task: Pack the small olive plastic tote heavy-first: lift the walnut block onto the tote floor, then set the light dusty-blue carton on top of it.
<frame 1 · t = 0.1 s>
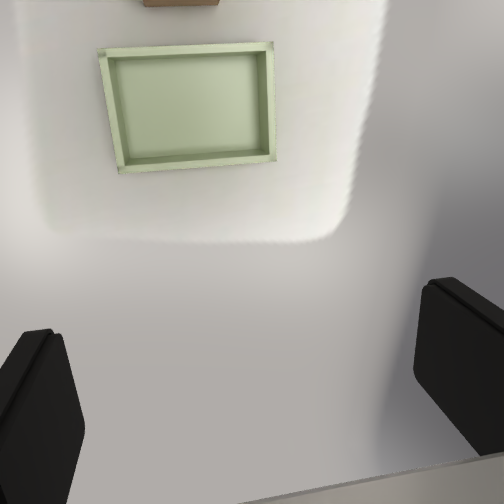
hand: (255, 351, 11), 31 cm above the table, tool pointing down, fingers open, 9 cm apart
tote: (191, 107, 37), on the table
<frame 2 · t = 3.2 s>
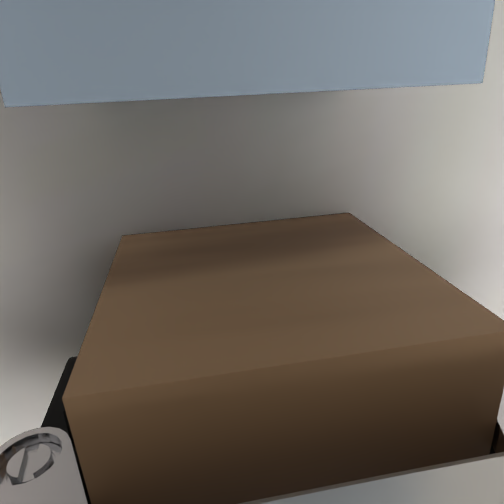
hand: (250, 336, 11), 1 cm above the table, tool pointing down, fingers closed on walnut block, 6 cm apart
walnut block: (246, 322, 12), on the table, touching gripper
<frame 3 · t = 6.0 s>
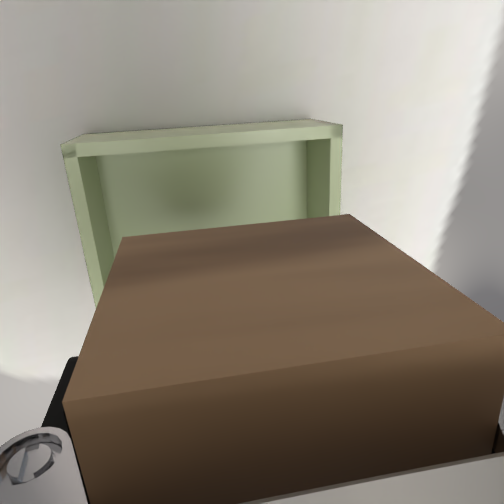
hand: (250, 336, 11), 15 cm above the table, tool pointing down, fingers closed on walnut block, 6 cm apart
walnut block: (246, 324, 12), point 15 cm above the table, touching gripper
tote: (209, 203, 26), on the table
when the fingers open (3 cm above the table, at t = 8.8 s): walnut block drops 1 cm, resting on tote.
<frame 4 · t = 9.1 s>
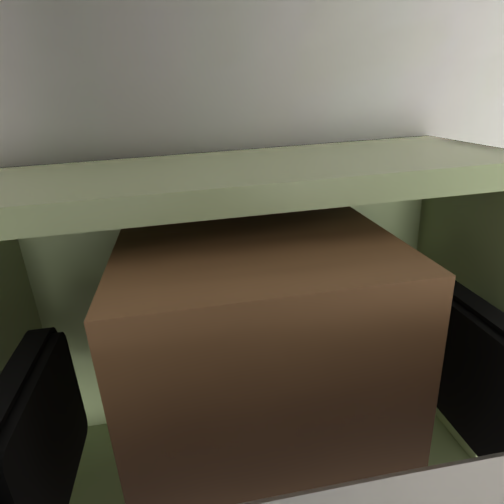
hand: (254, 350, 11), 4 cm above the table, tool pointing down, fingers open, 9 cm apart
walnut block: (239, 295, 13), point 1 cm above the table, touching tote
tote: (235, 287, 14), on the table
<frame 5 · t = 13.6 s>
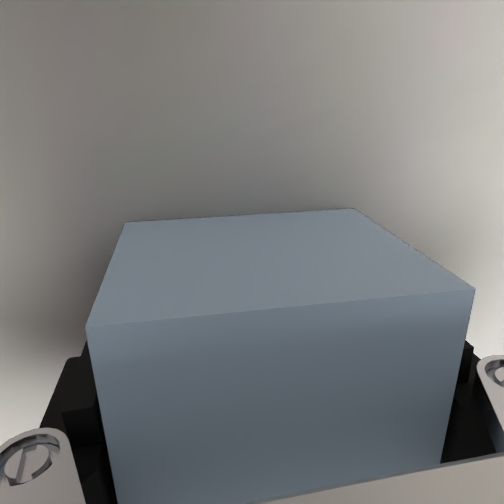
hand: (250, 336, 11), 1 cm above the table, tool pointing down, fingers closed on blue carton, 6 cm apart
blue carton: (246, 315, 12), on the table, touching gripper
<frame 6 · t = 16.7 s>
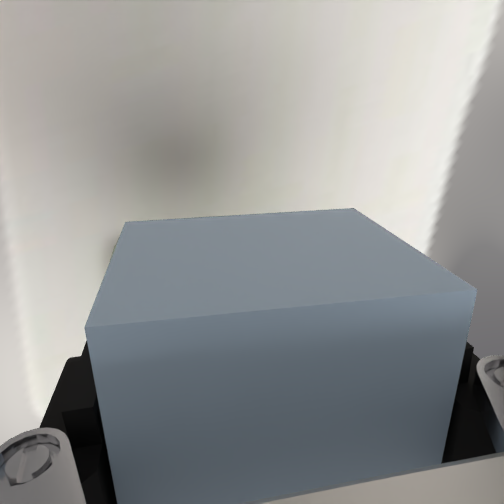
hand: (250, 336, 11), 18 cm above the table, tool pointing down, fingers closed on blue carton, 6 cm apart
blue carton: (246, 315, 12), point 18 cm above the table, touching gripper
when the fingers open (9 cm above the table, at t = 19.4 s): blue carton drops 1 cm, resting on walnut block.
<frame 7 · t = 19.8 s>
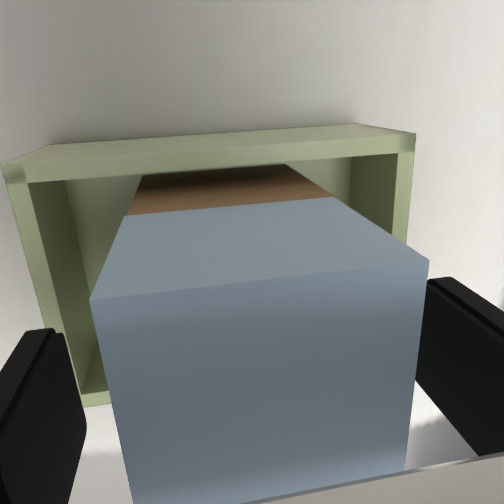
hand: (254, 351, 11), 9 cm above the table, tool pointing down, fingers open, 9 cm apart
walnut block: (221, 237, 18), point 1 cm above the table, touching blue carton, tote
blue carton: (238, 299, 13), point 7 cm above the table, touching walnut block
tote: (219, 234, 19), on the table
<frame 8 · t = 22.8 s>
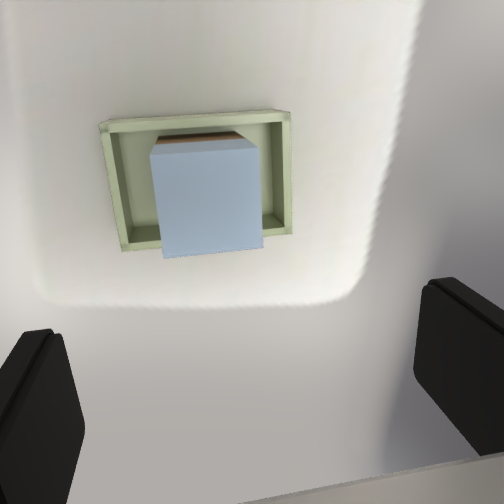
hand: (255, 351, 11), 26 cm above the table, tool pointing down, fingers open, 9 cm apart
walnut block: (200, 171, 34), point 1 cm above the table, touching blue carton, tote
blue carton: (204, 186, 28), point 7 cm above the table, touching walnut block
tote: (200, 171, 35), on the table
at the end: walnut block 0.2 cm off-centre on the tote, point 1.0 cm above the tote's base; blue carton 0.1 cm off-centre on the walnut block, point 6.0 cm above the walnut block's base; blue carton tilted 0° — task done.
